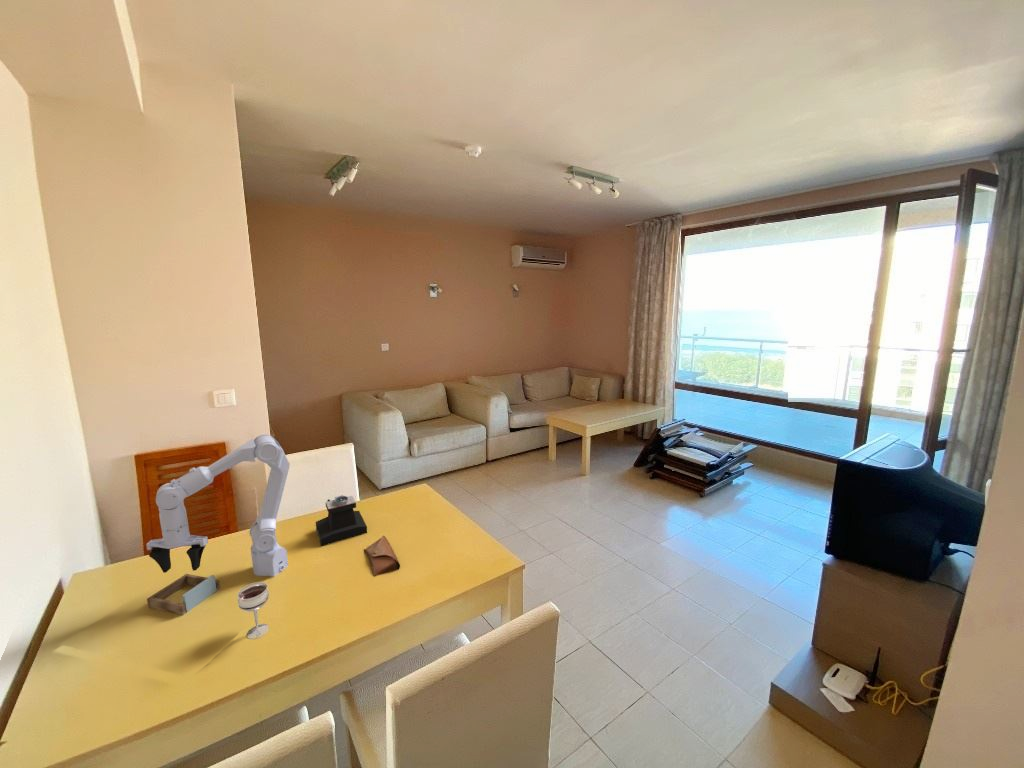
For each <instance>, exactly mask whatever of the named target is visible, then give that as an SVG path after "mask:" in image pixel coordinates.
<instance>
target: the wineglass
mask: <svg viewBox="0 0 1024 768" xmlns="http://www.w3.org/2000/svg"><path fill="white" fill-rule="evenodd" d="M268 586H269V585H268V584H267V582H264V581H255V582H253V583H252V582H251V583H249V584H247V585H245V586H244V587H241V588H240V589H239V591H238V592H237V595H236V597H237V598H238V599H237V605H238V607H239V609H240V610H242V611H244V612H247V613H252V612H253V616H254V621H255V626H253V627H251V628H250V629H249V630H248V631H247V632H246V637H247V638H248V639H249V640H254V639H258V638H260V637H262V636H265V634H266V633H267V632H268V631H269V628H270V627H269V625H268V624H266V623H260V624H259V619H258V610H259V609H261V608H262V607H263V606H264V605H265V604H266V603H267V601H268V599H269V596H270V593H269V589H268Z"/></svg>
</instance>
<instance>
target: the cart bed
mask: <svg viewBox="0 0 1024 768" xmlns="http://www.w3.org/2000/svg"><path fill="white" fill-rule="evenodd" d="M207 578H208V577H205V576H201V575H194V574H190V573H185V574H184V575H182V576H180V577H179V578H177V579H176V580H174V581H173V582H171V583H169V584H168V585H167V586H164V587H163V588H162V589H160V590H158V591H157V592H155V593H154V594H152V595H151V596H149V597H148V598H146V601H147V607H148V609H152V610H157V611H162V612H165V613H171V614H176V615H179V616H184V615H185V614H187V612H186V610H185V604H183V602H182V603H181V602H177V601H172V600H167V598H168V597H170V596H171V595H173V594H176V592H178V591H180V590H181V589H183V588H184V587H186V586H187V585H189V586H193V587H195V586H197V585H198V584H200V583H201V582H203V581H204V580H206V579H207ZM215 583H216V589H217V591H218V590H221V585H220V580H219V579H217V578H215Z"/></svg>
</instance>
